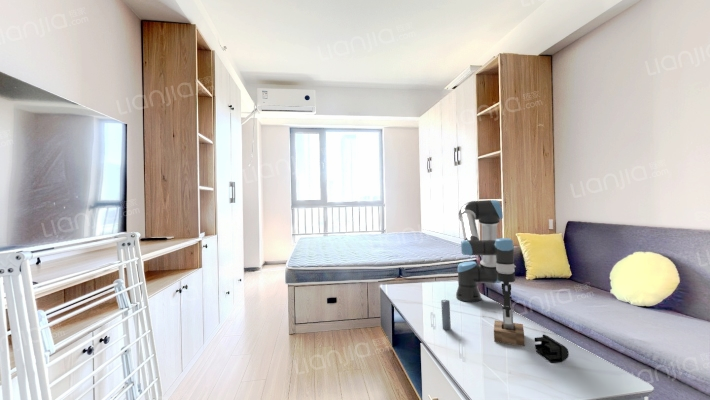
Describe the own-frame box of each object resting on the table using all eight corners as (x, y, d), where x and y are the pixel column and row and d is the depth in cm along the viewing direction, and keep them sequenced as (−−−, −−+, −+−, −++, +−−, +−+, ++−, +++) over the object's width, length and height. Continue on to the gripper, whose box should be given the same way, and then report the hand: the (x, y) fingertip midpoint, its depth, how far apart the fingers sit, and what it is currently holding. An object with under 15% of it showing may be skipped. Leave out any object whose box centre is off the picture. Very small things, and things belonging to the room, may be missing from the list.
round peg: (443, 326, 150) (442, 299, 150) (451, 327, 148) (450, 300, 148) (441, 329, 146) (440, 301, 146) (450, 330, 144) (448, 302, 144)
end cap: (569, 362, 113) (568, 345, 113) (552, 364, 112) (551, 346, 112) (550, 349, 123) (549, 333, 123) (534, 351, 122) (533, 335, 122)
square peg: (504, 335, 137) (502, 305, 137) (513, 337, 135) (512, 306, 135) (504, 339, 133) (502, 308, 133) (514, 340, 131) (512, 309, 131)
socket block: (495, 330, 142) (494, 320, 142) (523, 334, 137) (522, 324, 137) (494, 341, 131) (493, 330, 132) (524, 346, 126) (524, 334, 126)
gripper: (515, 279, 122) (518, 330, 121) (514, 266, 144) (516, 309, 144) (495, 278, 125) (498, 327, 125) (497, 265, 147) (499, 307, 147)
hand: (508, 318), depth 134 cm, fingers open, 13 cm apart
